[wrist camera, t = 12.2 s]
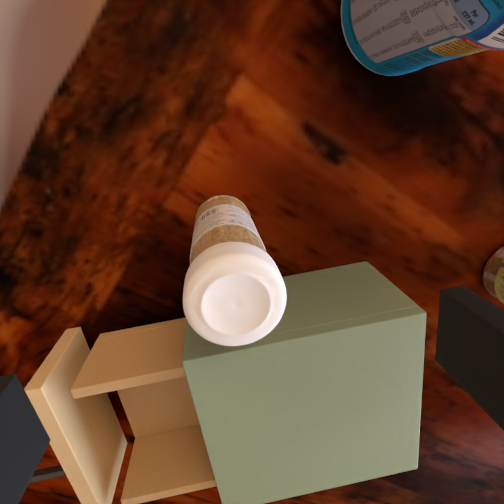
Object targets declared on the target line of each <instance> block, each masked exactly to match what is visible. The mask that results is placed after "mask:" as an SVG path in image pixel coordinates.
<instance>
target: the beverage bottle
mask: <svg viewBox="0 0 504 504" xmlns="http://www.w3.org/2000/svg"><path fill="white" fill-rule="evenodd" d="M341 23H342V30H343V34H344V37H345V40H346V43H347V45H348V47H349V49H350V51H351V53H352V54H353V56H354V57H355V58H356V59H357V60H358V62H359V63H361V64H362V65H363V66H364V67H365V68H367V69H369V70H370V71H372V72H375V73H377V74H381V75H387V76H397V75H403V74H407V73H411V72H414V71H417V70H419V69H421V68H423V67H426V66H429V65H432V64H436V63H440V62H443V61H447V60H451V59H455V58H458V57H462V56H466V55H470V54H474V53H478V52H481V51H485V50H504V0H342V3H341Z"/></svg>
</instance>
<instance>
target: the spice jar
mask: <svg viewBox="0 0 504 504" xmlns="http://www.w3.org/2000/svg"><path fill="white" fill-rule="evenodd" d="M194 224H195V227H194V231H193V238H192V245H191V252H190V267H189V268H188V271H187V273H186V277H185V281H184V289H183V309H184V313H185V316H186V319H187V321H188V323H189V324H190V326H191V327H192V328H193V329H194V331H195V332H197V333H198V334H199V335H200V336H201V337H203V338H204V339H206V340H208V341H210V342H213V343H215V344H219V345H224V346H240V345H246V344H250V343H253V342H255V341H257V340H259V339H261V338H263V337H264V336H266V335H267V334H268V333H269V332H271V331H272V330H273V329H274V328H275V326H276V325H277V324H278V322H279V321H280V319H281V317H282V315H283V313H284V310H285V307H286V299H287V295H286V288H285V284H284V281H283V278H282V276H281V274H280V272H279V270H278V267H277V265H276V264H275V262H274V261H273V259H272V258H271V257H270V256H269V255H268V254H267V253H266V249H265V247H264V244H263V242H262V240H261V238H260V236H259V234H258V232H257V229H256V227H255V225H254V223H253V221H252V219H251V216H250V212H249V211H248V209H247V207H246V206H245V205H244V203H243V202H242V201H240V200H239V199H237V198H235V197H232V196H229V195H218V196H214V197H211V198H210V199H208V200H206V201H205V202H204V203H203V204H202V205H201V206H200V207H199V209H198V211H197V213H196V216H195V222H194Z"/></svg>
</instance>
